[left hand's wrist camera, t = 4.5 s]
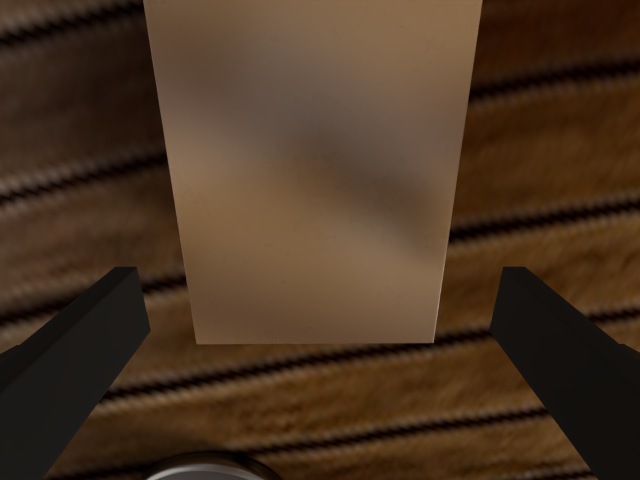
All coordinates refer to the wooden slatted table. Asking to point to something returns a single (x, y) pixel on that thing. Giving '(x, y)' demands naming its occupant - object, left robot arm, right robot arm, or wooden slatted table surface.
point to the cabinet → (313, 161)
